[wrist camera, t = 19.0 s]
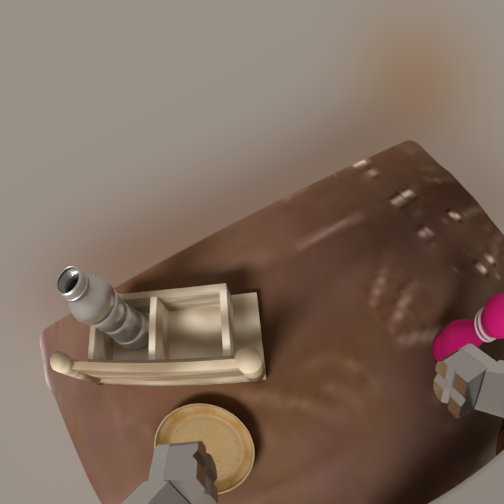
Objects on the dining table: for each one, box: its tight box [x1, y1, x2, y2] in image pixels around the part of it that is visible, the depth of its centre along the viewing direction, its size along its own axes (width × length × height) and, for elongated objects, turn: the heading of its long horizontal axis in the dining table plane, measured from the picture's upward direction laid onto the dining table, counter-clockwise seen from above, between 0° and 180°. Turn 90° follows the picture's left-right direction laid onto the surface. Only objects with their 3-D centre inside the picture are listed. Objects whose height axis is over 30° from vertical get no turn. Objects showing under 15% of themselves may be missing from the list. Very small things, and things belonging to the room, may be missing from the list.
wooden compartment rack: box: [50, 283, 266, 386], centre depth 40 cm, size 14×30×12 cm, turn 96°
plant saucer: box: [154, 403, 255, 494], centre depth 35 cm, size 15×15×3 cm
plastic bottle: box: [56, 266, 149, 350], centre depth 36 cm, size 6×7×20 cm
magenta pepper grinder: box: [433, 293, 504, 362], centre depth 31 cm, size 7×7×20 cm
